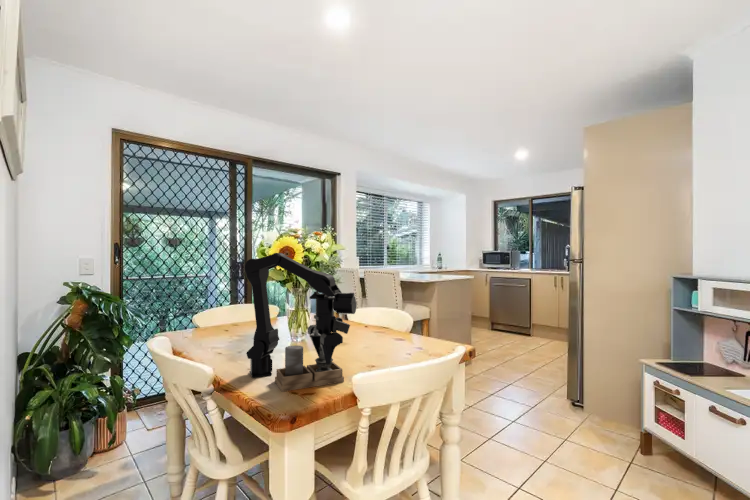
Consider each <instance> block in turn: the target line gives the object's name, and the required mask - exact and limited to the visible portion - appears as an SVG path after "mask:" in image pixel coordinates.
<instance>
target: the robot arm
mask: <svg viewBox="0 0 750 500" xmlns="http://www.w3.org/2000/svg"><path fill="white" fill-rule="evenodd" d="M243 265H244V267H243V268H244V273H245V277H246V279H247V280H248V282H249V283H250V285H251V290H252V299H253V308H254V317H255V324H256V327H255V331H254V334H253V345H252V347H250V348H249V350H247V351H246V353H245V354H246V357H247V360H250V362H249V363H250V370H249V374H250V377H251V378H259V377H266V376H272V374H273V373H272V372H273V359H272V358H271V354H273V352H274V350H275V349H276V347H277V346H278V345H279V344H278V343H279V341H280V337H279V329H278V328H274V326H273V325H272V322H271V313H270V312H271V311H270V304H269V295H268V288H267V286H268V285H267V283H268V279H269V275H270V270H271V269H274V268H276V267H279V268H282V269H283V270H285V271H287V272H289V273H291V274H292V275H294V276H297V277H298V278H300V279H302V280H304V281H305V282H306V283H307V284H308V286H310V287H311V288H312V289H313V290H315V291H314V292H313V294H311V295H310V296H309V299H310V300H315V314H314V315H313V319H314V320H315V324H310V325H309V326H308V327H307V334H308V335H309V338H310V341H311V342H312V345H313V347H314V350H315V352H316V354H317V356H318V357H317V358H319V355H320V349H319V348H320V345H321V348H322V351H323V354H324V358H325V361H326V363H327V364H329V363H330V362H331V358H332V359H333V354H334V351H335V349H336V347H337V346H340V344H343V343H344V342H343V341H344V340H343V339H344V337H343V335H342V334H341V333H344V334H345V335H348V333H349V330H350V327H351V324H349V323H347V322H344V321H343V318H341V317H339V316H336V315H334V312H336V313H337V314H343V315H344V314H345V315H346V314H348V315H355V314H356V311H357V299H356V295H355V292H342V291H341V289H340V288H339V286H338V285H337V284H336V279H335V277H334V276H333V275H332V274H329V273H326V272H324V271H318V270H315V269H312V268H310V267H309V266H306V265H304V264H303V263H300V262H298V261H296V260H295V259H292V258H291V257H288V256H287V255H286V254H284V253H282V252H274V253H272V254H270V255H267V256H264V257H260V258H249V259H248V260H247V261H246V262H245V263H244V264H243ZM338 332H340V333H338ZM320 340H321V343H320Z"/></svg>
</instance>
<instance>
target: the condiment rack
mask: <svg viewBox="0 0 750 500" xmlns="http://www.w3.org/2000/svg"><path fill="white" fill-rule="evenodd" d="M284 349H285V350H284V355H285V356H284V365H285V366H284V367H282V368H276V376H274V383H275V384H276V385H277V386H278V388H279V390H280V391H281V392H282V393H283V392H288V391H294V390H300V389H307V388H313V387H319V386H320V387H321V386H326V385H331V384H339V383H344V382H345V377H344V376H343V368H341V367H340V366H339V365H338V364H337V363H335V362H334V361H332V364H331V366H330V367H329V368H331V369H332V370H329V371H322V372H316V370H317V369H318V368H319V367H318V366H317V364H316V363H314V364H313V363H312V364H307V365H306V366H305V365H304V346H303V345H288V346H286V347H284Z"/></svg>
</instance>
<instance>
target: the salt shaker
mask: <svg viewBox="0 0 750 500" xmlns="http://www.w3.org/2000/svg"><path fill="white" fill-rule="evenodd" d="M320 343H321V340H320ZM319 349H320V355H319V357H317V358H315V359H314V361H315V364H317V366H318V367H319V368H318V369H317V370H316V372H322V371H329V370H332V369H331V368H329V367H330V366H331V364H332V362H334V359H333V357H332V358H331V362H330V363H329V364H327V363H326V361H325V358H324V354H323V351H322V348H321V345H320V348H319Z"/></svg>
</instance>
